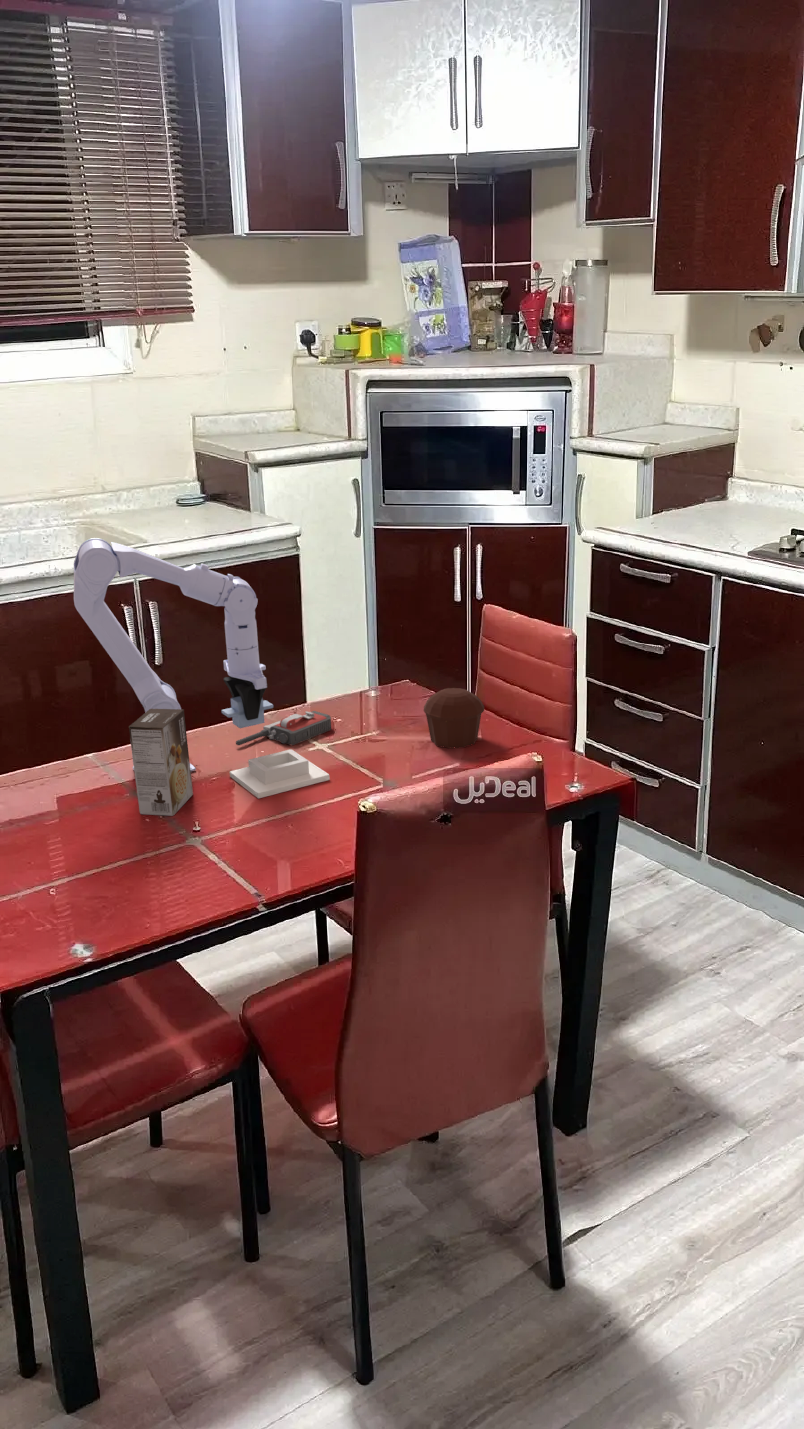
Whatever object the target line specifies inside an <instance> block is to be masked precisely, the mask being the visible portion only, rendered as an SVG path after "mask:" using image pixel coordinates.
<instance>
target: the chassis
mask: <svg viewBox="0 0 804 1429" xmlns="http://www.w3.org/2000/svg"><path fill="white" fill-rule="evenodd" d="M247 760H248V762H247V763H248V766H246V767H242V768H239V769H233V770H230V771H229V778H231V779H233V780H234V781H235V782H236V783H238V784H239V785H240V786H241V787H243V788H244V789H245V790H247V792H249V793H251V794H252V795H253V796H254V797H256V798H257V799H261V798H265V797H269V796H273V795H277V794H281V793H284V792H288V791H292V790H296V789H299V788H303V787H308V786H312V785H314V784H319V783H323V782H326V781H330V780H331V778H330V774H329V773H328V772H326V771H325V770H323V769H322V768H320V767H318V766H317V765H315V764H314V763H313V762H311V761H310V760H309V759H307V758H306V757H304V756H303V755H300V754H299V753H298V752H296V750H295V751H294V750H293V749H287V750H286V749H285V750H283V751H279V752H273V753H270V754H266V755H265V754H264V755H261V756H258V757H253V758H250V759H247Z"/></svg>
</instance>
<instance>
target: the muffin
mask: <svg viewBox="0 0 804 1429" xmlns="http://www.w3.org/2000/svg"><path fill="white" fill-rule="evenodd" d="M484 711H485V705H484V704H483V702H482V700H481V698H480V697H479V696H477V695H476V694H474V693H472V692H471V691H470V690H467V689H465V688H457V687H447V688H444V689H440V690H439V691H437V692H435V693H434V694H432V695H431V696H430V697H429V698H427V700H426V702H425V704H424V706H423V712H424V714H425V716H426V721H427V725H428V732H429V736H430V742H432V743H433V744H434V745H435V746H436V747H440V746H442V748H445V747H447V748H446V749H460V748H459V747H464V748H466V747H465V746H467V745H470V746H472V745H471V744H473V745H475V743H476V741H477V740H478V737H479V731H480V730H479V729H480V725H481V724H480V723H481V718H482V714H483V712H484ZM443 746H444V747H443ZM454 747H455V748H454ZM467 747H468V746H467Z"/></svg>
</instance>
